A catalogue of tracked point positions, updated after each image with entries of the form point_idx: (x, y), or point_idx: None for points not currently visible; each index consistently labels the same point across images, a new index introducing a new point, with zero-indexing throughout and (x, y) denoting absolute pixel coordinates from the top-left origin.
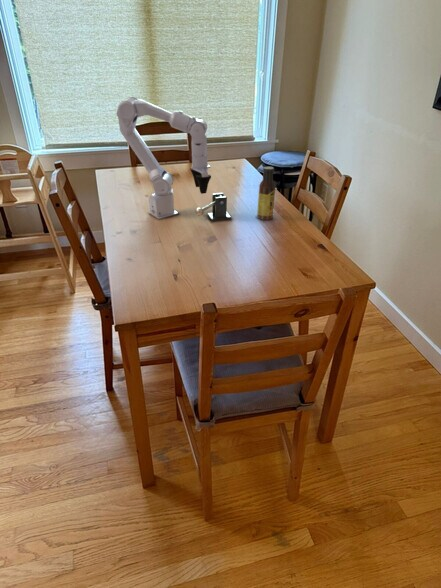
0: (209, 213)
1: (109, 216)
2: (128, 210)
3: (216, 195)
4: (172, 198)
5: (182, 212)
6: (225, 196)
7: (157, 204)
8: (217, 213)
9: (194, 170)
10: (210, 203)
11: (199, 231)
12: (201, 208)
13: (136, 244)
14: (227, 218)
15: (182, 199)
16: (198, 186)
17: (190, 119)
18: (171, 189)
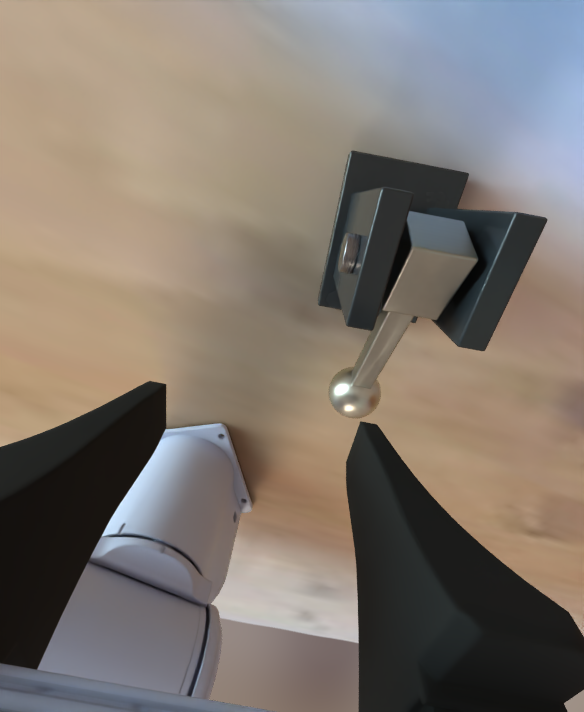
0: (327, 296)
1: None
2: None
3: (383, 289)
4: (193, 518)
5: (210, 399)
6: (518, 225)
7: (226, 571)
8: None
9: (19, 653)
10: (380, 340)
11: (471, 421)
12: (363, 394)
13: None
14: (453, 206)
15: (13, 325)
16: (163, 411)
17: None
18: (135, 557)
